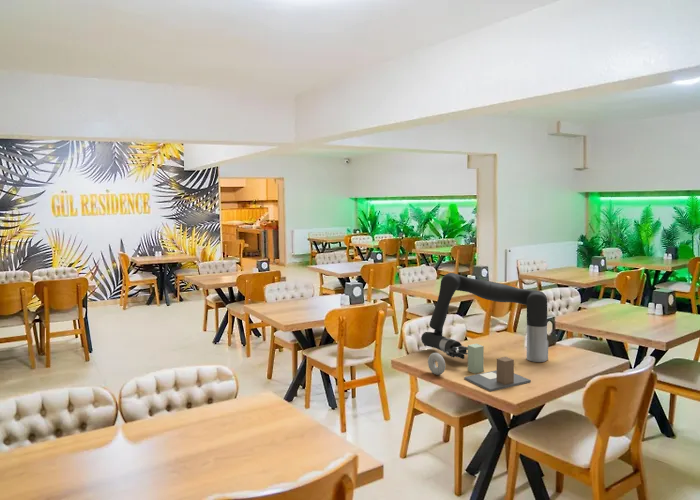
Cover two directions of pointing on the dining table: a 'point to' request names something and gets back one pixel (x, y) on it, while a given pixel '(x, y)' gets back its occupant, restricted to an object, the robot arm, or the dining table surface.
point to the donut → (433, 366)
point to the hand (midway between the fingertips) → (471, 355)
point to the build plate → (494, 381)
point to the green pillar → (475, 358)
